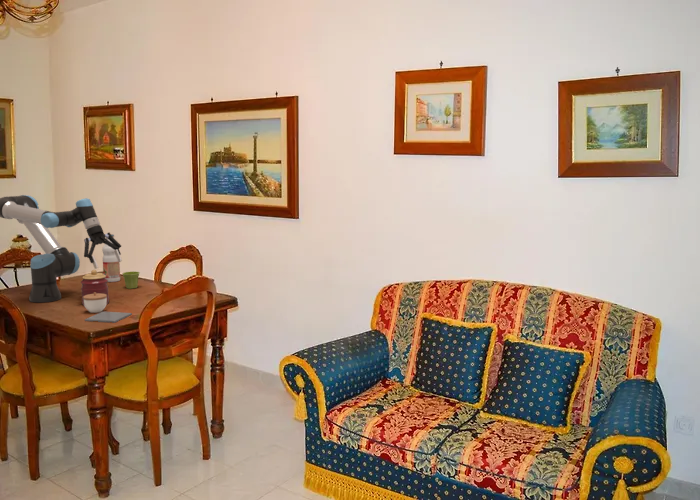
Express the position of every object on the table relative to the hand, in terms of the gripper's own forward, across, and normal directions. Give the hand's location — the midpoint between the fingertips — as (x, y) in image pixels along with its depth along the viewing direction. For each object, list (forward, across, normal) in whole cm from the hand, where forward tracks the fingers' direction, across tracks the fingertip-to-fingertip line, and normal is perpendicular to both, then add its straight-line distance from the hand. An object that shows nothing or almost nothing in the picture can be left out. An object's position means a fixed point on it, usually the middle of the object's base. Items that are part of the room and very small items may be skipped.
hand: (108, 264), depth 332 cm
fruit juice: (+2, +25, +50) cm, 56 cm away
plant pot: (+13, +21, +25) cm, 35 cm away
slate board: (+28, -23, -23) cm, 43 cm away
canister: (+17, -12, +5) cm, 21 cm away
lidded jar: (+22, -20, -8) cm, 31 cm away
